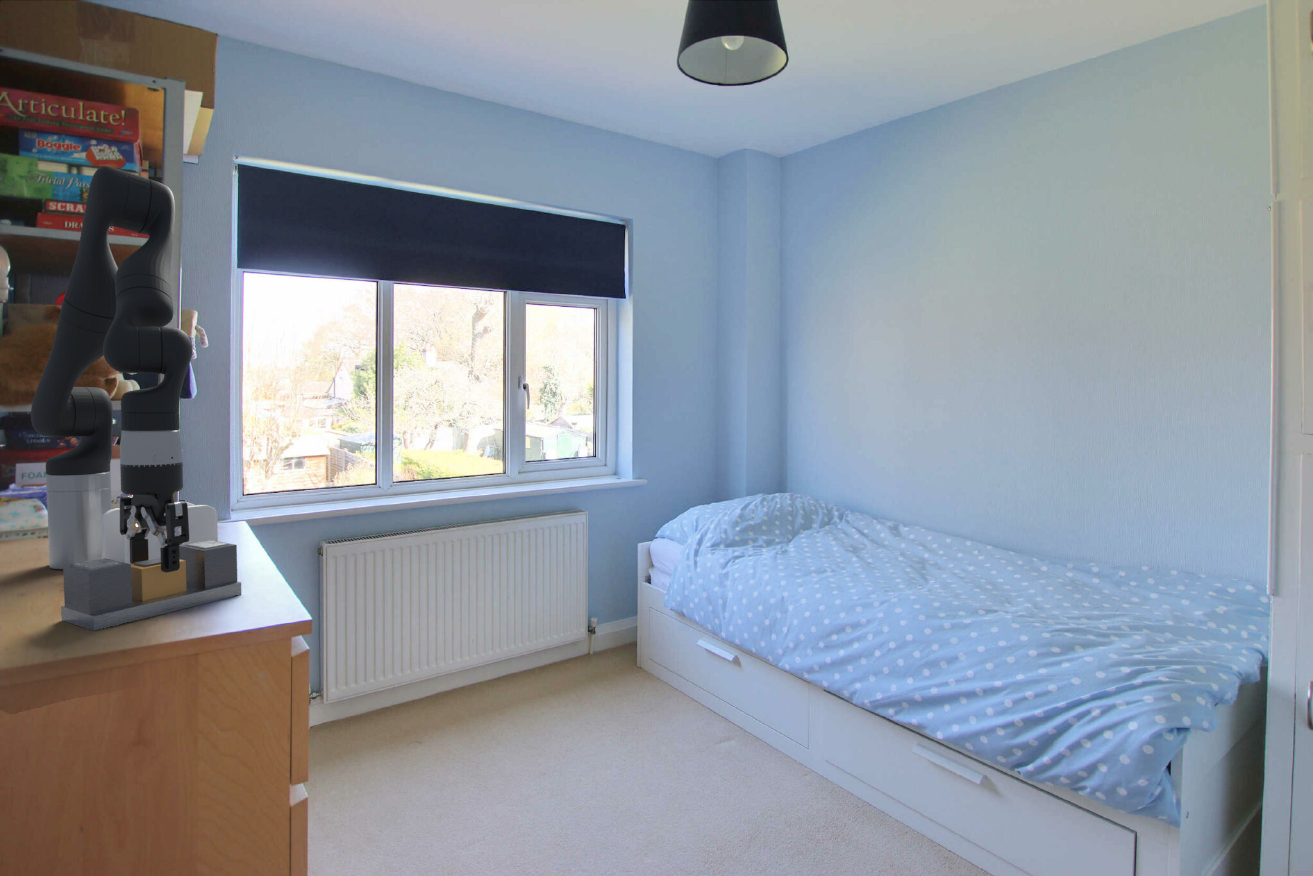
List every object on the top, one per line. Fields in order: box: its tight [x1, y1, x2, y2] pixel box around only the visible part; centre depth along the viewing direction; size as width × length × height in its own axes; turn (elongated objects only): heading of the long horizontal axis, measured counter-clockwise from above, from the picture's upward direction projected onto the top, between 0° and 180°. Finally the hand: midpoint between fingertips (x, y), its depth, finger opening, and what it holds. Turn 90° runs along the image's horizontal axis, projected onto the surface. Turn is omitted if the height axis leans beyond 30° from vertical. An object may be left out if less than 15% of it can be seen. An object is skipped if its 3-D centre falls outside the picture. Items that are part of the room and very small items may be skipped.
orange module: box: [131, 558, 186, 601], centre depth 103 cm, size 6×4×5 cm
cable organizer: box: [101, 501, 219, 564], centre depth 126 cm, size 15×11×12 cm
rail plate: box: [60, 540, 242, 632], centre depth 103 cm, size 9×20×8 cm, turn 153°
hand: (154, 567), depth 103 cm, fingers open, 8 cm apart
